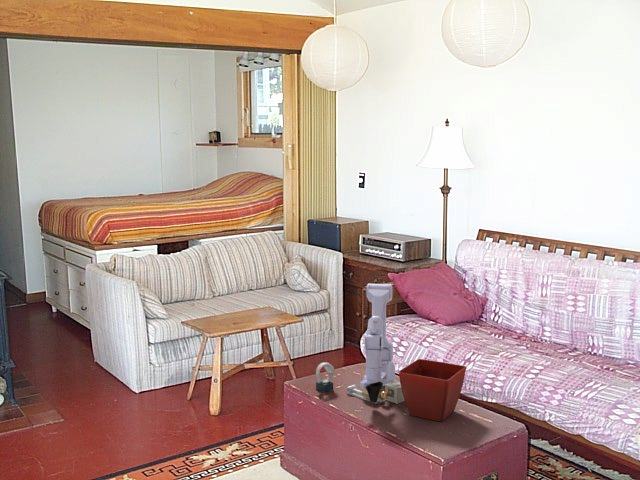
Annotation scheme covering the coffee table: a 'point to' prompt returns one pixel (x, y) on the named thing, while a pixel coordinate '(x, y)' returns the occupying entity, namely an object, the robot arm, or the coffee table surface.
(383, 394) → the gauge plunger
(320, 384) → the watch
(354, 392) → the rail
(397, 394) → the cabinet
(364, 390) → the carriage
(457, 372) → the plant pot
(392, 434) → the coffee table surface
